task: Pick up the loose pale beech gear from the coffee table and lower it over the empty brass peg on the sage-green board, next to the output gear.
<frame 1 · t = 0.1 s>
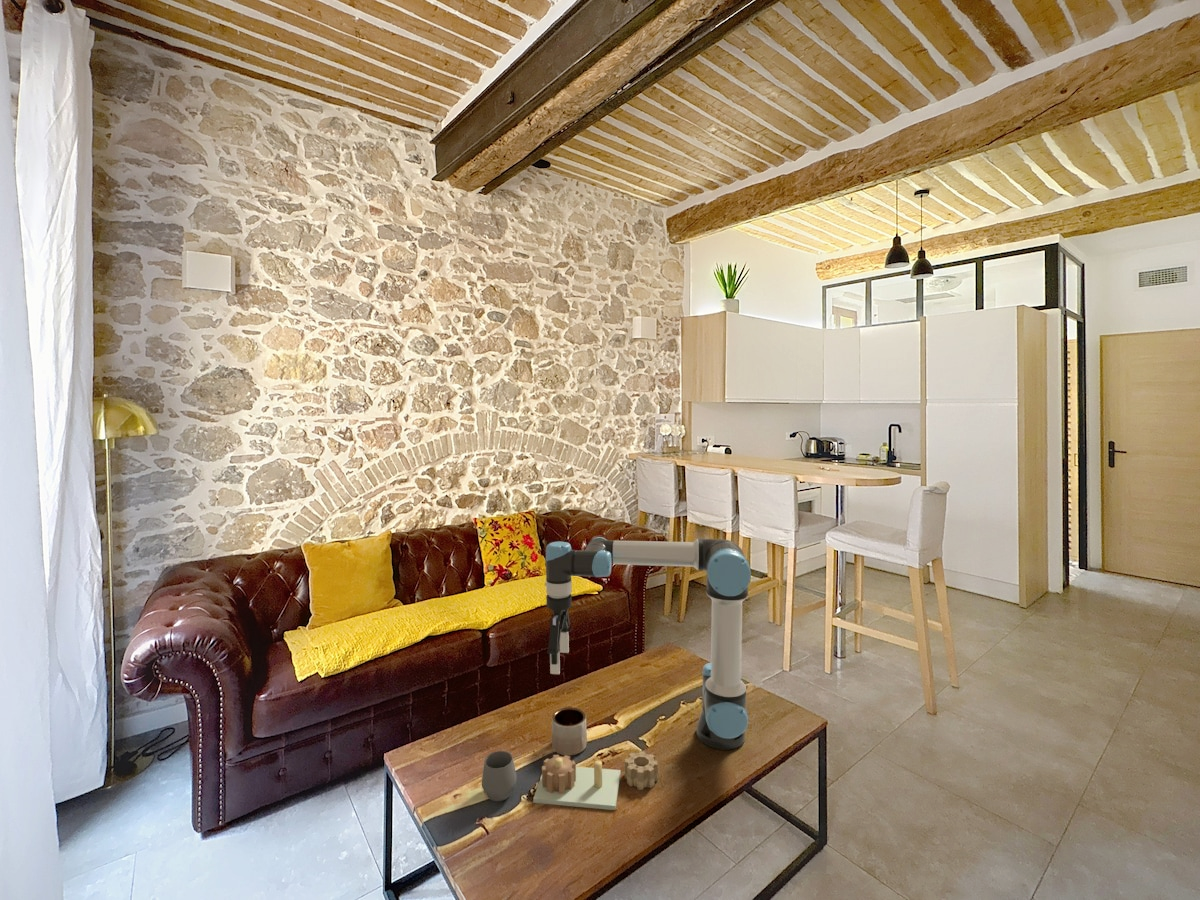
hand: (559, 662, 165), 28 cm above the table, fingers open, 13 cm apart
planter: (569, 746, 169), on the table
gear board: (578, 787, 150), on the table
beech gear: (641, 778, 154), on the table
cup: (499, 794, 148), on the table
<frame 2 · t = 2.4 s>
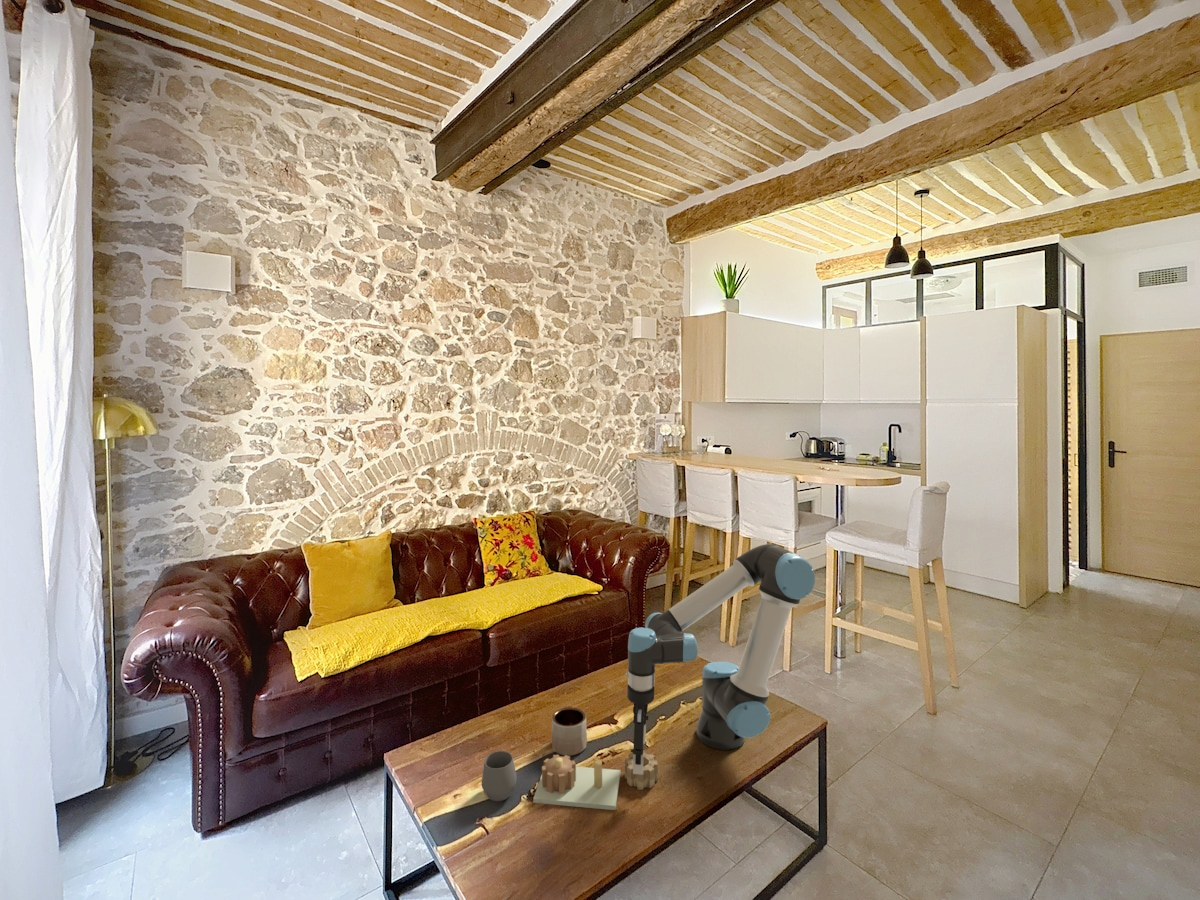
hand: (639, 757, 153), 6 cm above the table, fingers open, 13 cm apart
nothing on the table moved.
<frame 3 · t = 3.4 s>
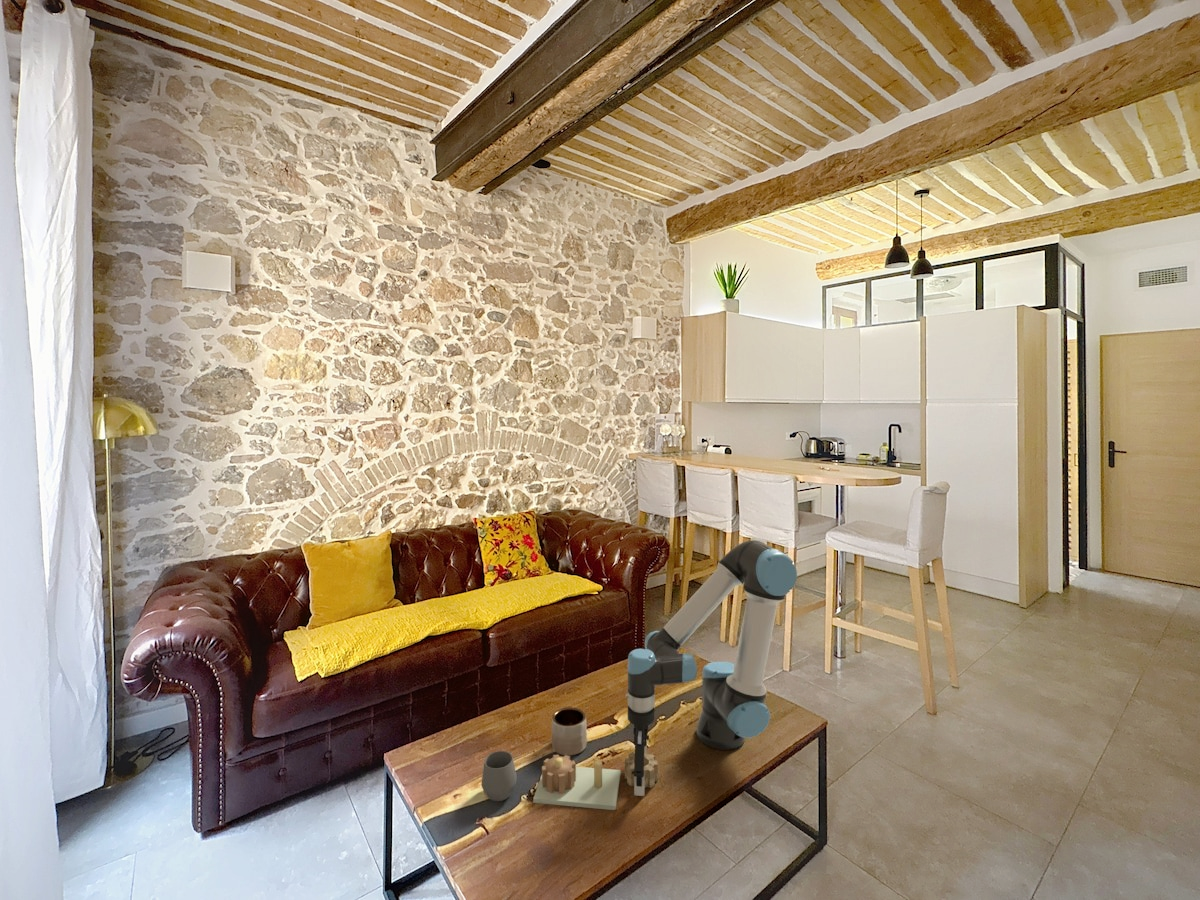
hand: (640, 777, 154), 0 cm above the table, fingers open, 13 cm apart
nothing on the table moved.
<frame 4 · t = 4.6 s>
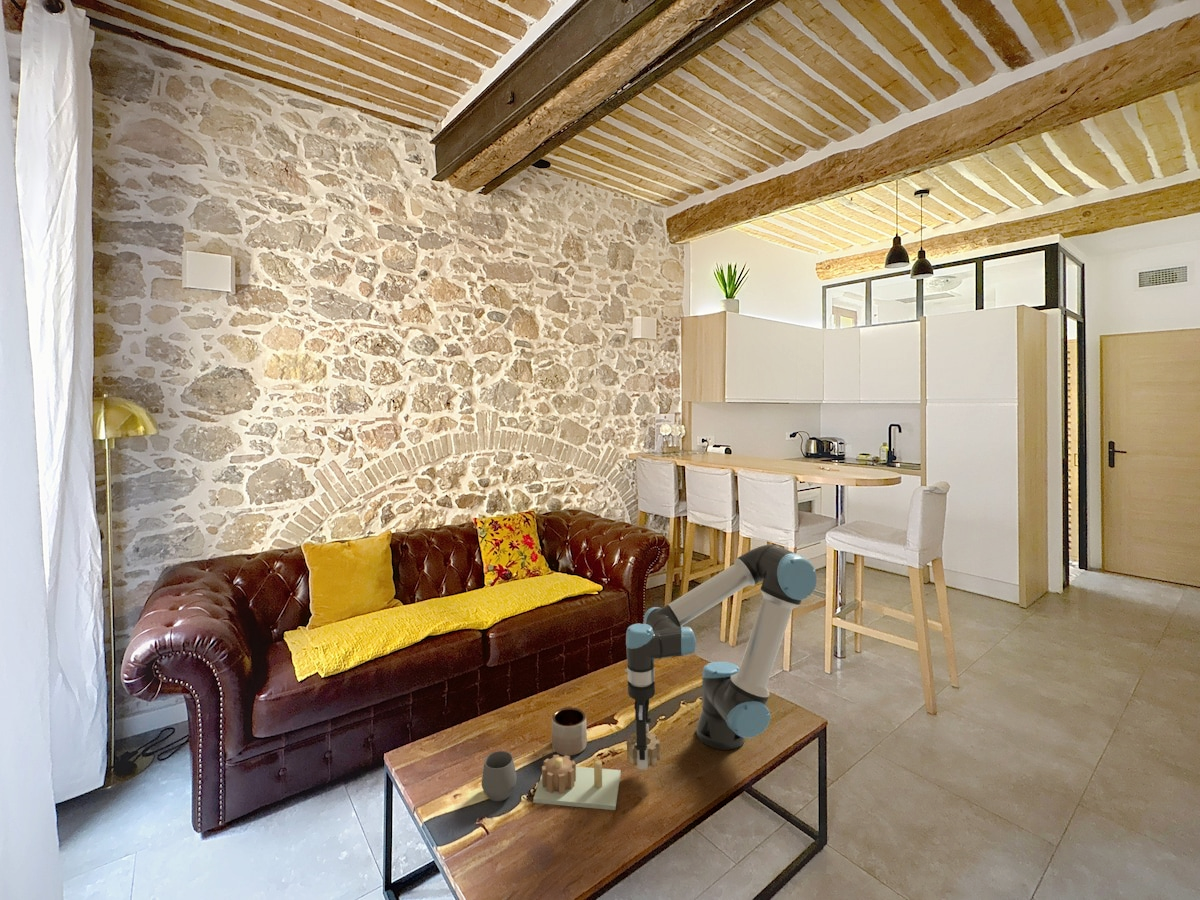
hand: (643, 756, 154), 6 cm above the table, fingers closed on beech gear, 9 cm apart
beech gear: (643, 757, 154), point 6 cm above the table, touching gripper
everything else where it was.
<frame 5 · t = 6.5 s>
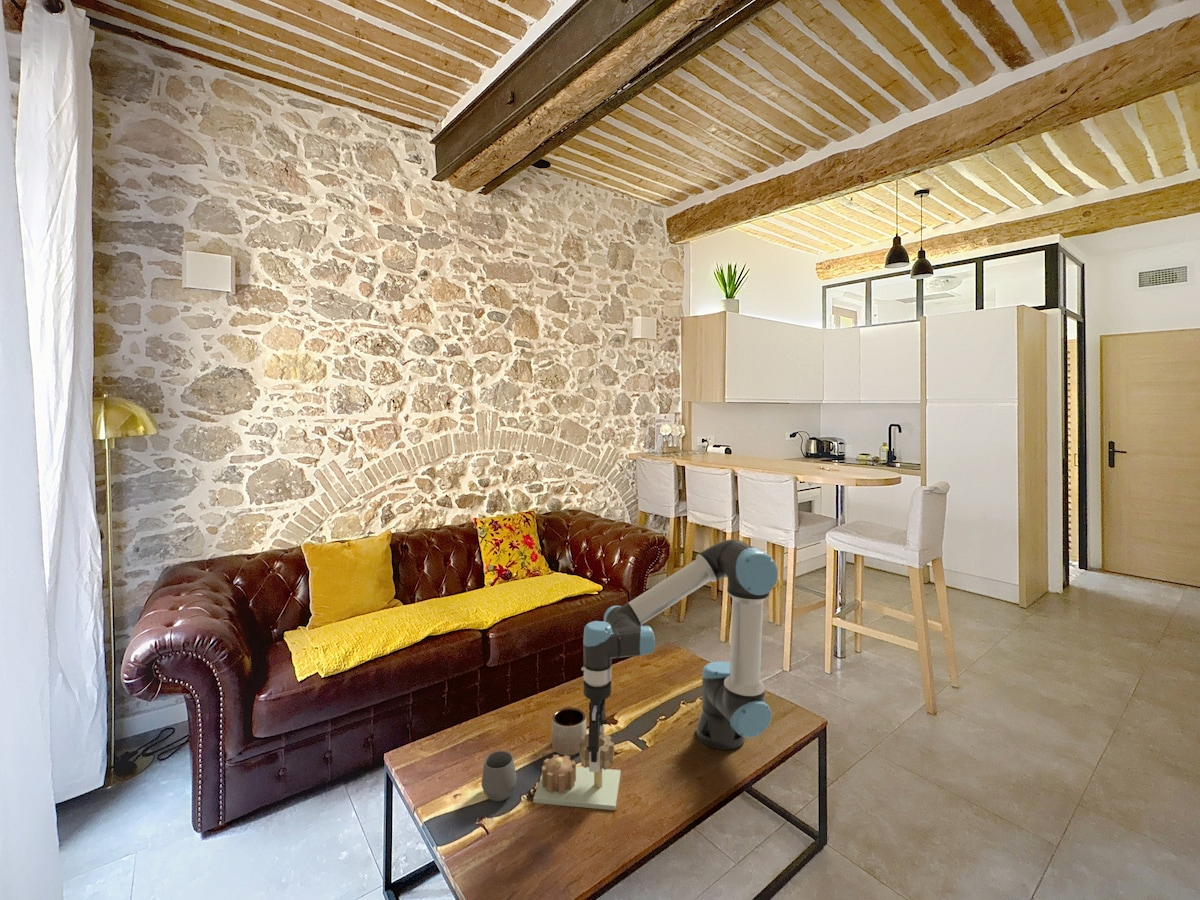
hand: (597, 759, 149), 9 cm above the table, fingers closed on beech gear, 9 cm apart
beech gear: (596, 759, 149), point 9 cm above the table, touching gripper
everything else where it was.
when the fingers open (3 cm above the table, at t = 8.3 s): beech gear drops 1 cm, resting on gear board.
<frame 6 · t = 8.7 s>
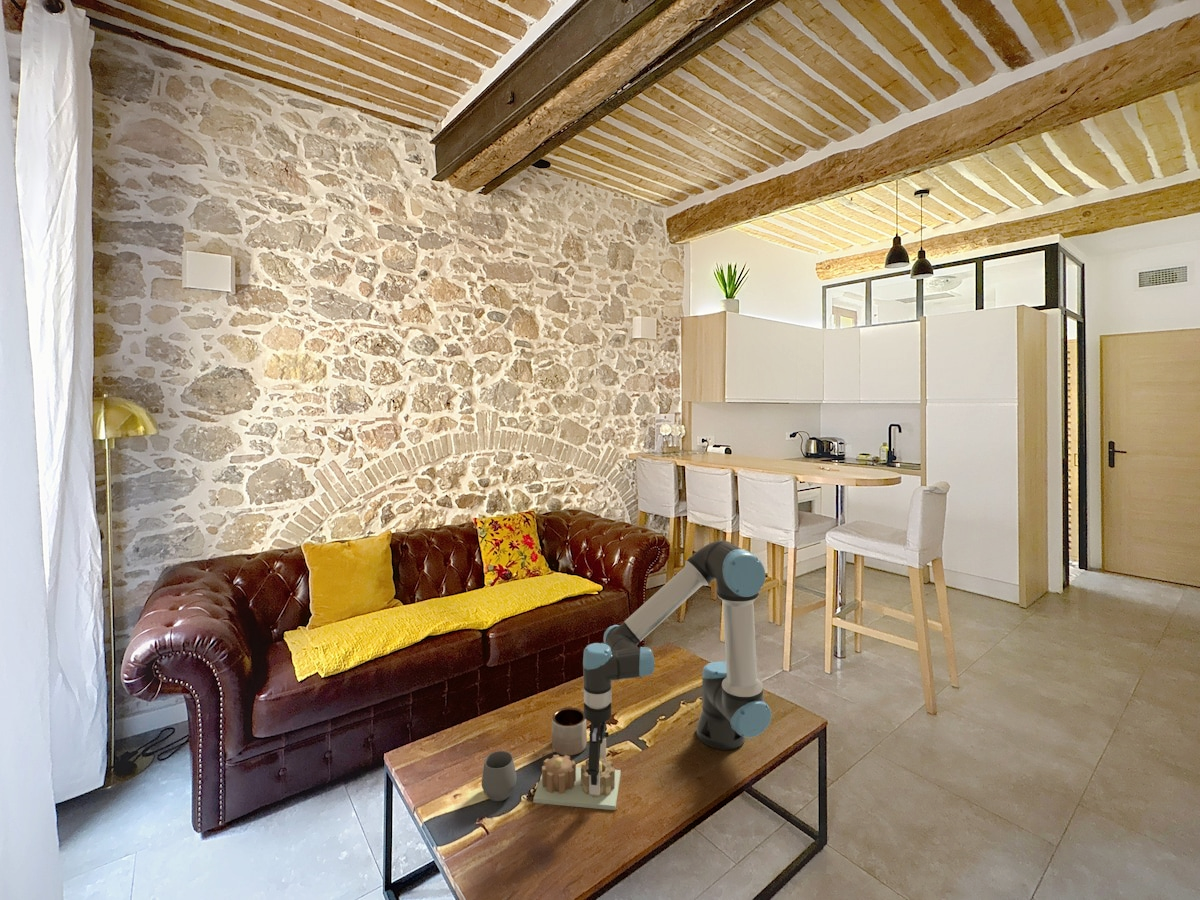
hand: (598, 776, 149), 4 cm above the table, fingers open, 13 cm apart
beech gear: (598, 785, 150), point 1 cm above the table, touching gear board
everything else where it was.
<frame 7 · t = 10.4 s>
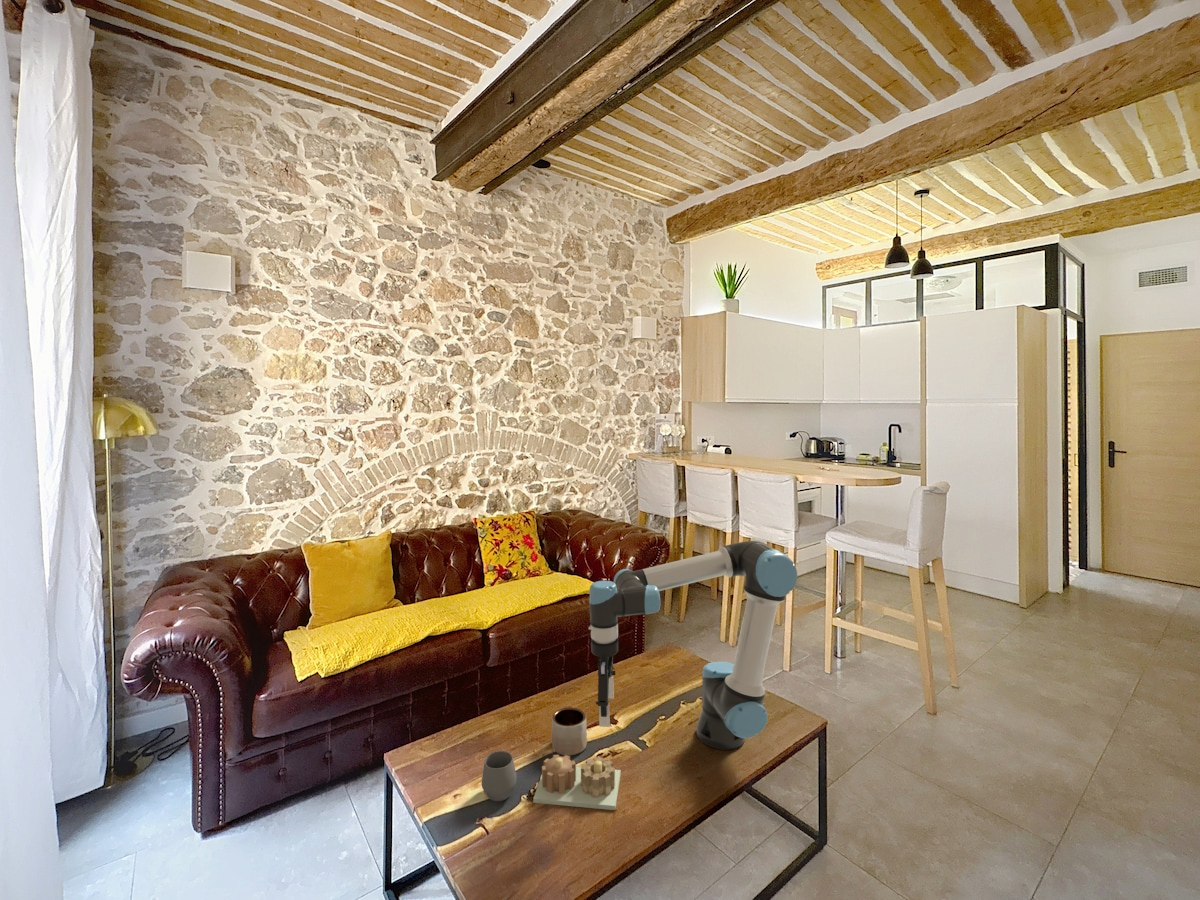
hand: (607, 711, 152), 20 cm above the table, fingers open, 13 cm apart
nothing on the table moved.
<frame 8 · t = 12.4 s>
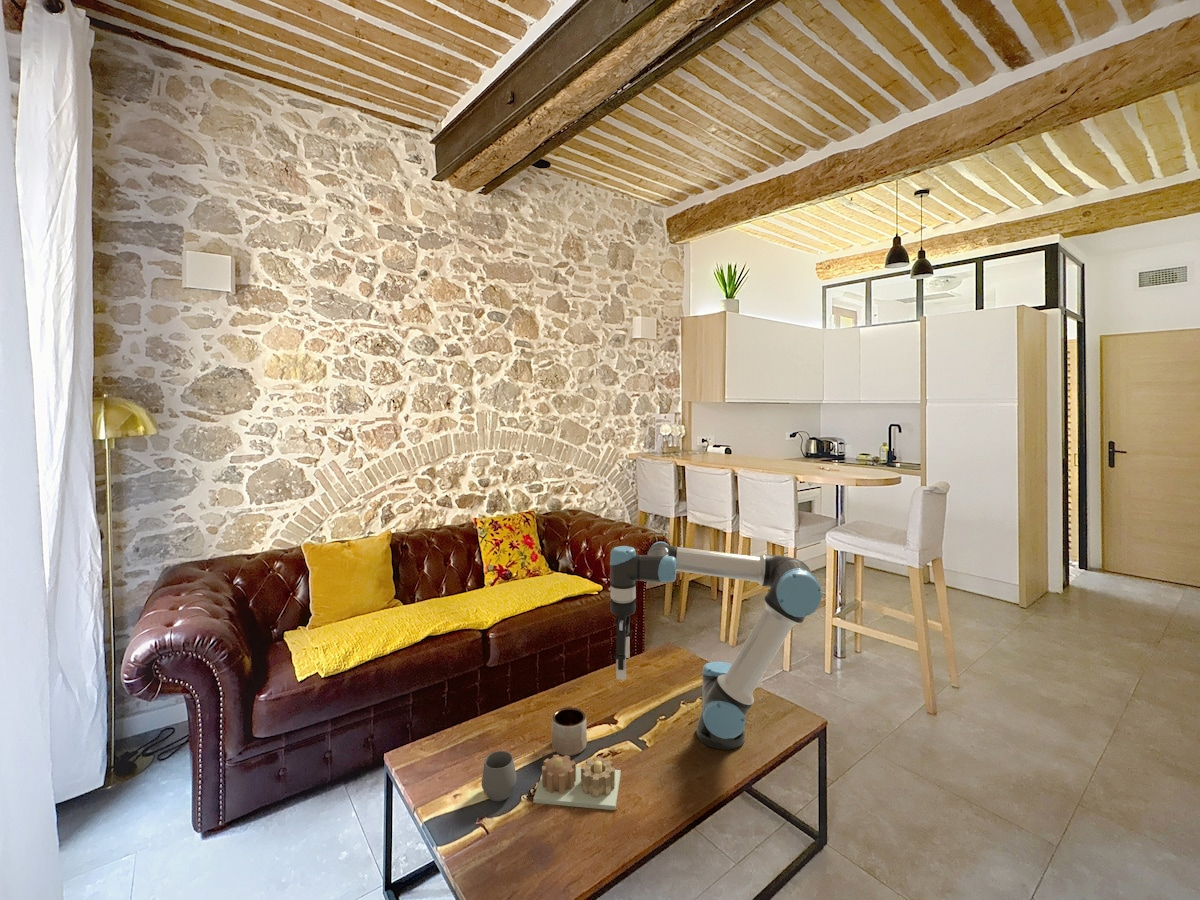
hand: (623, 667, 163), 27 cm above the table, fingers open, 13 cm apart
nothing on the table moved.
at the end: beech gear 0.1 cm from the target spot on the gear board, point 1.2 cm above the gear board's base; beech gear tilted 0°; the gripper is holding nothing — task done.
